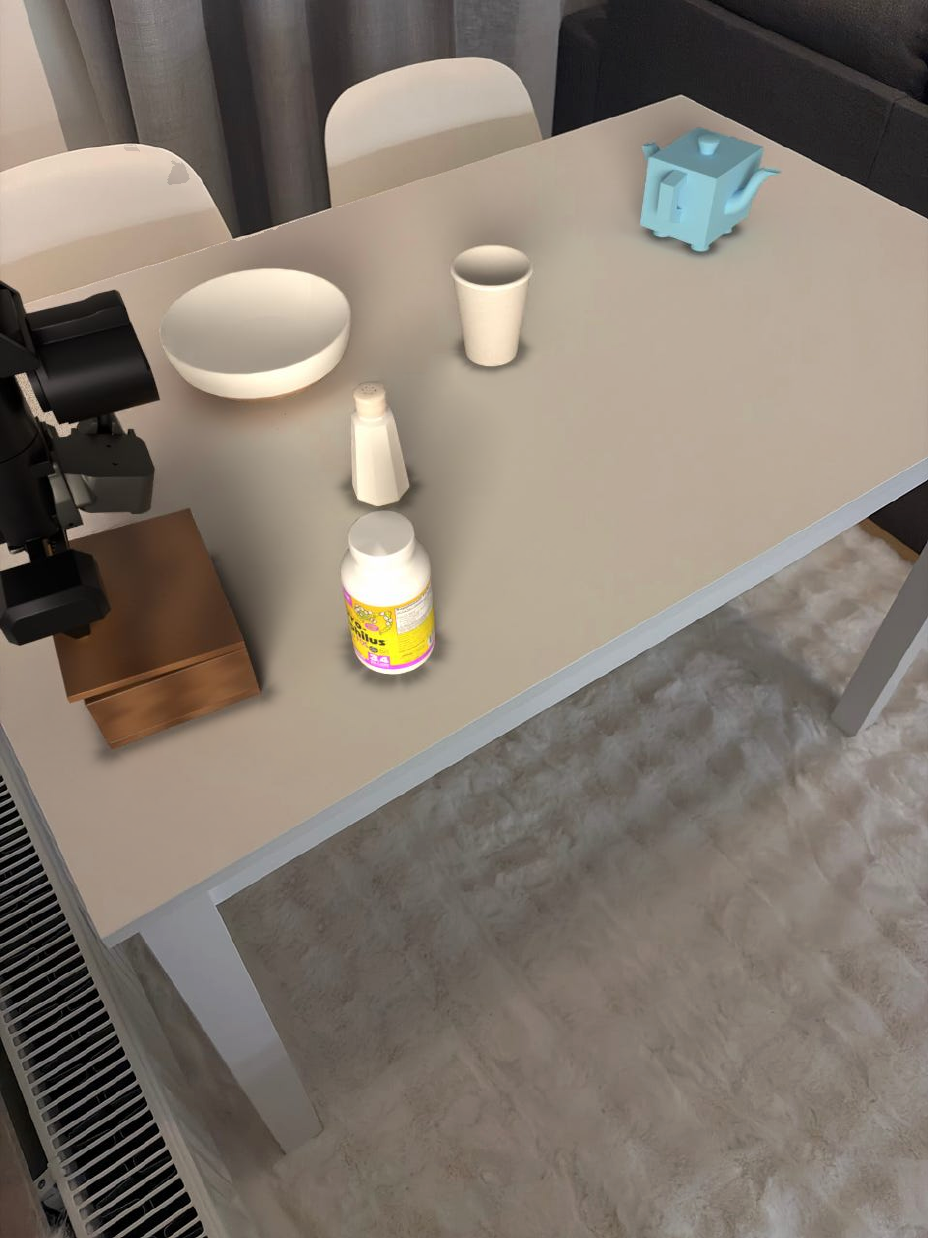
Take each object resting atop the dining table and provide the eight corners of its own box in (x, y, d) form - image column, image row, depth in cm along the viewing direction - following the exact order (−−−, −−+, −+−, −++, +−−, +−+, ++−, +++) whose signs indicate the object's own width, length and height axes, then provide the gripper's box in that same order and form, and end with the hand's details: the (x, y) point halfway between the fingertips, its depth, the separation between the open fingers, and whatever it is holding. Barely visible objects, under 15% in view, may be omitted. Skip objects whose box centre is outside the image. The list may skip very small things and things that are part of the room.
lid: (69, 704, 63) (46, 658, 59) (35, 556, 72) (13, 508, 68) (245, 647, 67) (234, 601, 63) (191, 513, 76) (179, 466, 72)
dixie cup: (525, 376, 96) (528, 289, 89) (447, 370, 97) (443, 284, 90) (533, 331, 102) (537, 246, 94) (459, 326, 103) (457, 241, 95)
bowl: (135, 390, 96) (117, 339, 92) (252, 300, 107) (241, 250, 102) (283, 448, 90) (272, 397, 85) (392, 347, 100) (387, 296, 96)
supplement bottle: (338, 639, 74) (315, 526, 64) (405, 601, 77) (392, 486, 67) (384, 692, 71) (367, 582, 61) (452, 650, 73) (447, 537, 63)
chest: (111, 749, 68) (85, 705, 64) (74, 606, 77) (49, 559, 73) (261, 693, 71) (245, 647, 67) (208, 561, 80) (192, 513, 76)
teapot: (669, 188, 122) (682, 97, 114) (791, 230, 115) (816, 137, 106) (599, 235, 115) (609, 141, 106) (725, 283, 107) (746, 187, 98)
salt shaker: (348, 506, 84) (332, 409, 76) (356, 467, 88) (341, 370, 79) (406, 507, 84) (397, 410, 76) (412, 468, 87) (404, 371, 79)
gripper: (157, 492, 52) (216, 659, 64) (94, 326, 63) (155, 496, 75) (-50, 554, 49) (53, 717, 61) (-78, 368, 60) (14, 537, 72)
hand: (75, 606), depth 67 cm, fingers closed on lid, 6 cm apart
